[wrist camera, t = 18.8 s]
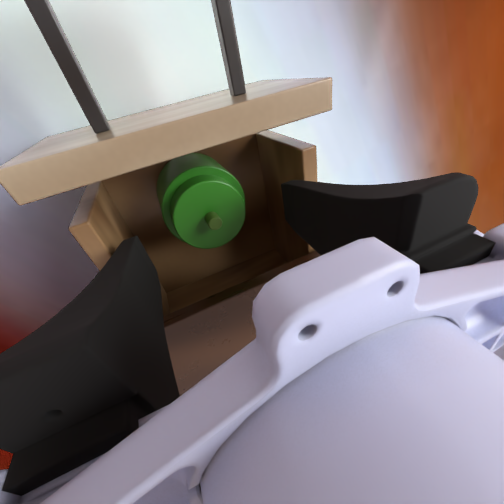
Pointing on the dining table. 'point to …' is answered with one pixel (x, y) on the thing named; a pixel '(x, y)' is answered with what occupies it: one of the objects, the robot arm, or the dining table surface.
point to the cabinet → (216, 327)
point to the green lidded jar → (200, 201)
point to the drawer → (164, 150)
